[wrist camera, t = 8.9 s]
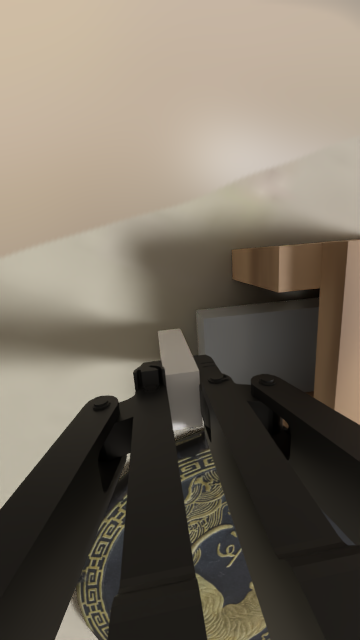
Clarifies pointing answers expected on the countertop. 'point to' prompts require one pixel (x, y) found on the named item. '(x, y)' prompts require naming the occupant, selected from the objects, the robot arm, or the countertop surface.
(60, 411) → the countertop surface
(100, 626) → the decorative plate
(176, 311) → the countertop surface
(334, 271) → the wooden u-bracket
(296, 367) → the grey rectangular block
